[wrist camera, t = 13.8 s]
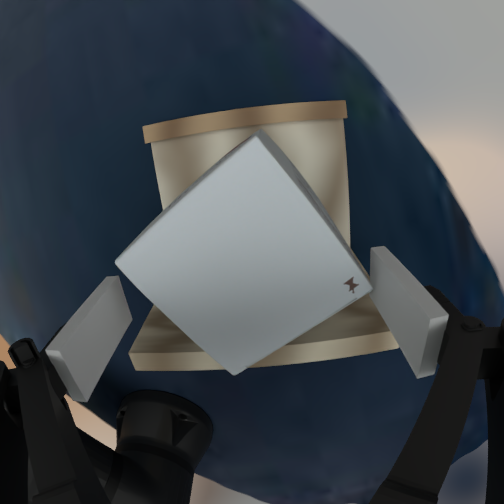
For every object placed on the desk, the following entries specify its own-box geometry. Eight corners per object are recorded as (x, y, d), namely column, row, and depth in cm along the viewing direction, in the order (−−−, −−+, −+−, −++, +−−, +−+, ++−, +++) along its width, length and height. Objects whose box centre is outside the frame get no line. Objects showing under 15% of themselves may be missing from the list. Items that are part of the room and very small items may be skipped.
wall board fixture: (180, 276, 34) (135, 370, 20) (151, 126, 28) (66, 133, 15) (348, 258, 33) (398, 348, 19) (339, 102, 27) (406, 86, 13)
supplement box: (261, 125, 28) (262, 124, 12) (322, 202, 30) (383, 286, 15) (183, 191, 30) (107, 264, 14) (245, 260, 33) (232, 382, 17)
